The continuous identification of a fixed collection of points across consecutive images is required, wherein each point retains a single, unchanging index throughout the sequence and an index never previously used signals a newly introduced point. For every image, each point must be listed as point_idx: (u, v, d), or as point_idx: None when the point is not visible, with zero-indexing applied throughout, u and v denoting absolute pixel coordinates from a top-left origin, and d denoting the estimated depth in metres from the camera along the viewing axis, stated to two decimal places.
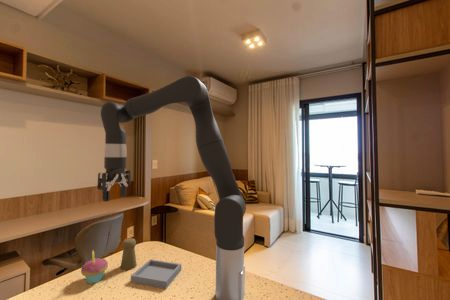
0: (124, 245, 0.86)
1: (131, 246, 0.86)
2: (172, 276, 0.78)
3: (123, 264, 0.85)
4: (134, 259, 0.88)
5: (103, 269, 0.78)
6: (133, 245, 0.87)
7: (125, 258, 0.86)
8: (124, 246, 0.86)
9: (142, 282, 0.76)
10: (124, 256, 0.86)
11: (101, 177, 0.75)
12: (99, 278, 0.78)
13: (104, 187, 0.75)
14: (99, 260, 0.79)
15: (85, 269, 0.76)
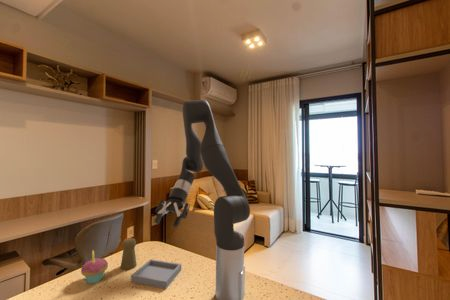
0: (124, 245, 0.86)
1: (131, 246, 0.86)
2: (172, 276, 0.78)
3: (123, 264, 0.85)
4: (134, 259, 0.88)
5: (103, 269, 0.78)
6: (133, 245, 0.87)
7: (125, 258, 0.86)
8: (124, 246, 0.86)
9: (142, 282, 0.76)
10: (124, 256, 0.86)
11: None
12: (99, 278, 0.78)
13: (156, 209, 0.93)
14: (99, 260, 0.79)
15: (85, 269, 0.76)
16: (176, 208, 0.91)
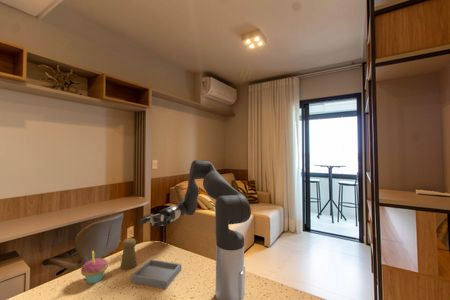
0: (124, 245, 0.86)
1: (131, 246, 0.86)
2: (172, 276, 0.78)
3: (123, 264, 0.85)
4: (134, 259, 0.88)
5: (103, 269, 0.78)
6: (133, 245, 0.87)
7: (125, 258, 0.86)
8: (124, 246, 0.86)
9: (142, 282, 0.76)
10: (124, 256, 0.86)
11: None
12: (99, 278, 0.78)
13: (145, 216, 1.05)
14: (99, 260, 0.79)
15: (85, 269, 0.76)
16: (162, 216, 1.03)
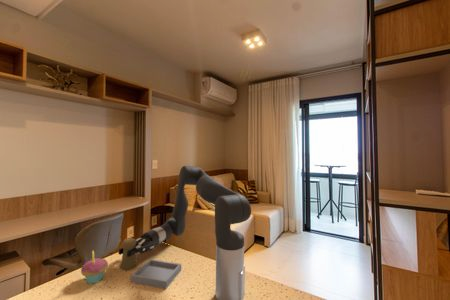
0: (124, 245, 0.86)
1: (131, 246, 0.86)
2: (172, 276, 0.78)
3: (123, 264, 0.85)
4: (134, 259, 0.88)
5: (103, 269, 0.78)
6: (133, 245, 0.87)
7: (125, 258, 0.86)
8: (124, 246, 0.86)
9: (142, 282, 0.76)
10: (124, 256, 0.86)
11: None
12: (99, 278, 0.78)
13: None
14: (99, 260, 0.79)
15: (85, 269, 0.76)
16: (141, 242, 0.92)
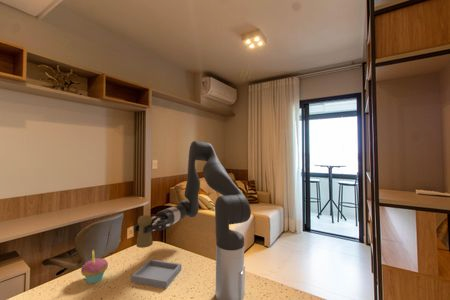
0: (140, 221, 0.81)
1: (147, 222, 0.82)
2: (172, 276, 0.78)
3: (139, 241, 0.81)
4: (150, 236, 0.83)
5: (103, 269, 0.78)
6: (149, 222, 0.83)
7: (141, 235, 0.81)
8: (140, 222, 0.81)
9: (142, 282, 0.76)
10: (140, 233, 0.82)
11: None
12: (99, 278, 0.78)
13: None
14: (99, 260, 0.79)
15: (85, 269, 0.76)
16: (157, 220, 0.87)
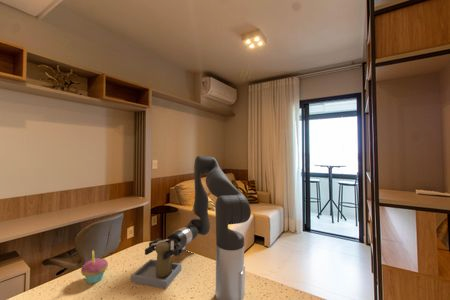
0: (158, 249, 0.80)
1: (165, 250, 0.80)
2: (172, 276, 0.78)
3: (159, 270, 0.79)
4: (169, 264, 0.81)
5: (103, 269, 0.78)
6: (167, 248, 0.81)
7: (160, 263, 0.79)
8: (158, 250, 0.79)
9: (142, 282, 0.76)
10: (159, 261, 0.79)
11: None
12: (99, 278, 0.78)
13: (151, 242, 0.87)
14: (99, 260, 0.79)
15: (85, 269, 0.76)
16: (172, 244, 0.85)
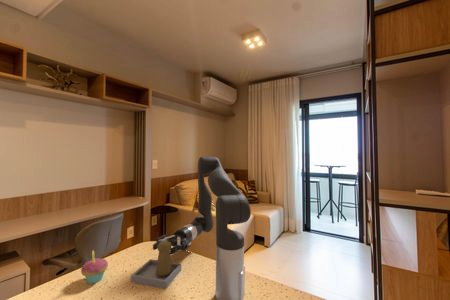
0: (160, 247, 0.81)
1: (167, 248, 0.81)
2: (172, 276, 0.78)
3: (159, 268, 0.79)
4: (170, 263, 0.81)
5: (103, 269, 0.78)
6: (169, 247, 0.82)
7: (161, 261, 0.80)
8: (160, 248, 0.81)
9: (142, 282, 0.76)
10: (160, 259, 0.80)
11: None
12: (99, 278, 0.78)
13: (158, 238, 0.91)
14: (99, 260, 0.79)
15: (85, 269, 0.76)
16: (178, 239, 0.89)
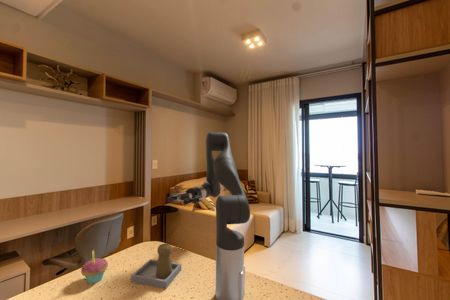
0: (160, 251, 0.79)
1: (167, 252, 0.79)
2: (172, 276, 0.78)
3: (159, 272, 0.79)
4: (170, 266, 0.81)
5: (103, 269, 0.78)
6: (169, 251, 0.80)
7: (161, 265, 0.79)
8: (160, 252, 0.79)
9: (142, 282, 0.76)
10: (160, 263, 0.79)
11: None
12: (99, 278, 0.78)
13: (171, 194, 0.99)
14: (99, 260, 0.79)
15: (85, 269, 0.76)
16: (190, 194, 0.97)
